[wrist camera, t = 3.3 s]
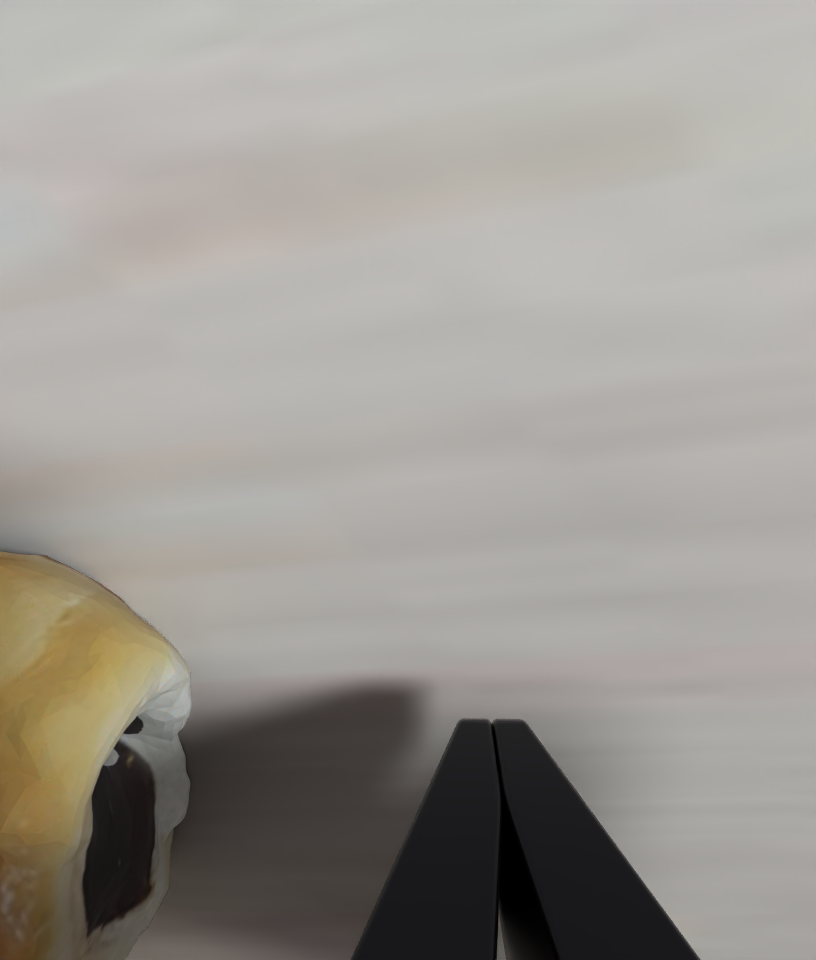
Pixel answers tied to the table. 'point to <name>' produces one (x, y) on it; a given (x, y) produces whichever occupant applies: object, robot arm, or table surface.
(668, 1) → the table surface
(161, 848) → the pastry
